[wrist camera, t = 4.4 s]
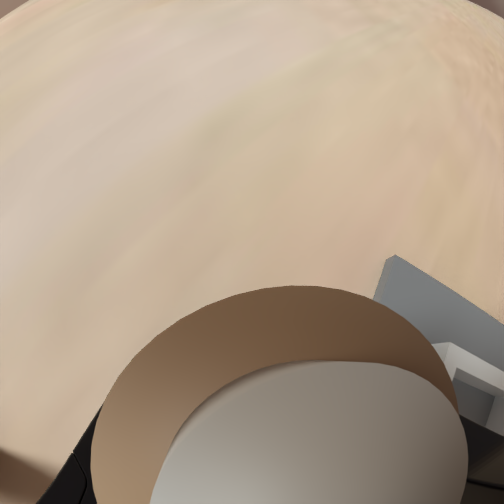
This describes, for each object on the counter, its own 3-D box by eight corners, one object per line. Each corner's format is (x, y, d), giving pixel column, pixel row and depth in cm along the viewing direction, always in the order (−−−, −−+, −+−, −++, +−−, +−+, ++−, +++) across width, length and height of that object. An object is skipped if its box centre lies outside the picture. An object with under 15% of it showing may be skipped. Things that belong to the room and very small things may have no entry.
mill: (250, 443, 13) (380, 647, 1) (162, 401, 13) (14, 564, 1) (293, 361, 15) (546, 362, 3) (206, 318, 15) (210, 163, 3)
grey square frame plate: (452, 542, 12) (476, 554, 9) (261, 523, 12) (272, 551, 9) (529, 351, 17) (557, 347, 14) (386, 259, 17) (415, 242, 14)
